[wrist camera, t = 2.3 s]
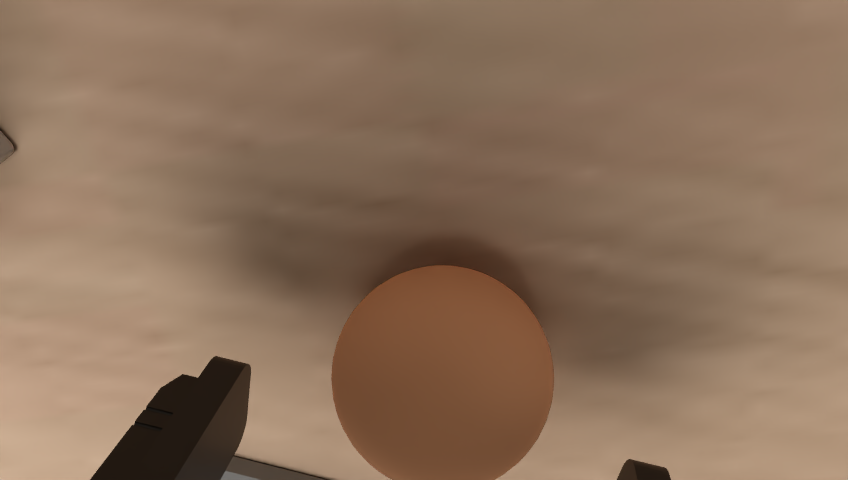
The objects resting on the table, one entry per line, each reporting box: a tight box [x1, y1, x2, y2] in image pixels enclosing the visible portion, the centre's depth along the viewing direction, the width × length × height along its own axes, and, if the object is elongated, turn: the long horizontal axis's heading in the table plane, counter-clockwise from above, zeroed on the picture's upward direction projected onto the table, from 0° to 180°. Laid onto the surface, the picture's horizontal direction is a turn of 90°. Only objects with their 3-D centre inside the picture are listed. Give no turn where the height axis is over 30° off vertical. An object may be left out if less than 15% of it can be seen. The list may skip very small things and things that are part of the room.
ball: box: [331, 265, 554, 480], centre depth 15 cm, size 5×5×5 cm
